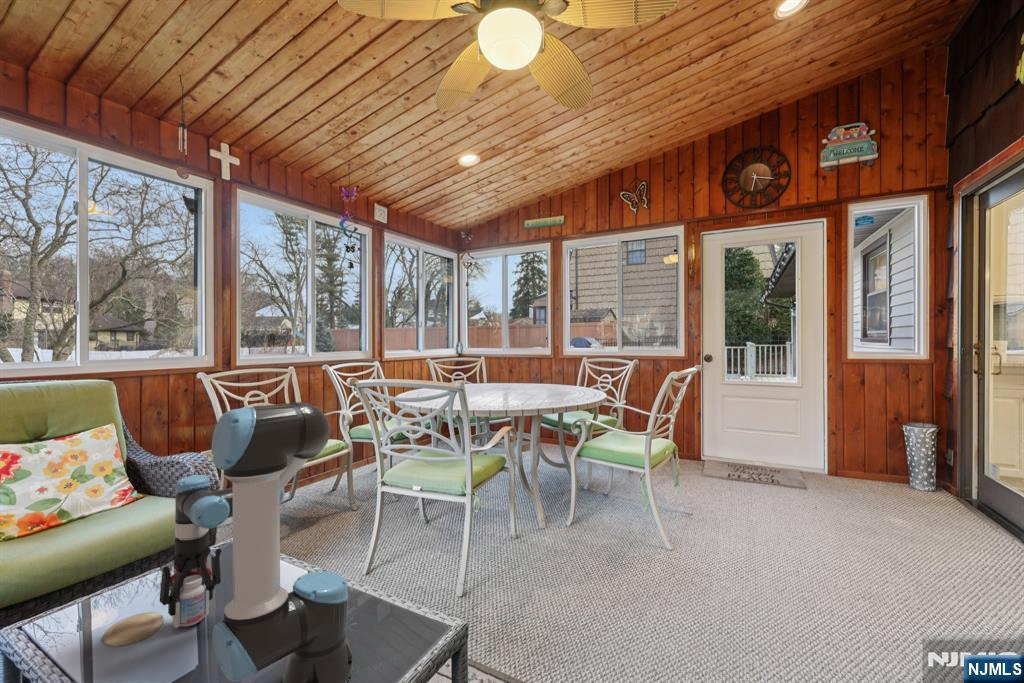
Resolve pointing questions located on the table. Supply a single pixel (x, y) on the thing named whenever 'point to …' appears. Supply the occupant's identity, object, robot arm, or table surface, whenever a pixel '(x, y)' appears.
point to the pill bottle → (192, 600)
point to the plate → (133, 629)
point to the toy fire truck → (189, 573)
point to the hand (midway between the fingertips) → (190, 618)
